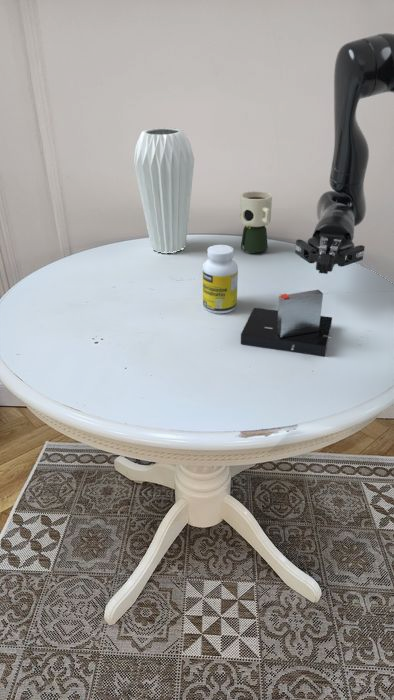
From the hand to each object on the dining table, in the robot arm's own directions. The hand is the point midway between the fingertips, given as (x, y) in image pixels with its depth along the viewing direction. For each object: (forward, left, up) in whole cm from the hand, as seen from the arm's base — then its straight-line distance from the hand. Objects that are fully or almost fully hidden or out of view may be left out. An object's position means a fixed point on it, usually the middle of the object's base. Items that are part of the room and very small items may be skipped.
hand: (323, 268), depth 91 cm
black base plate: (+4, +8, -10) cm, 14 cm away
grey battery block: (+2, +9, -8) cm, 12 cm away
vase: (+39, -26, -10) cm, 48 cm away
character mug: (+18, -30, -10) cm, 37 cm away
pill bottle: (+18, 0, -10) cm, 21 cm away
